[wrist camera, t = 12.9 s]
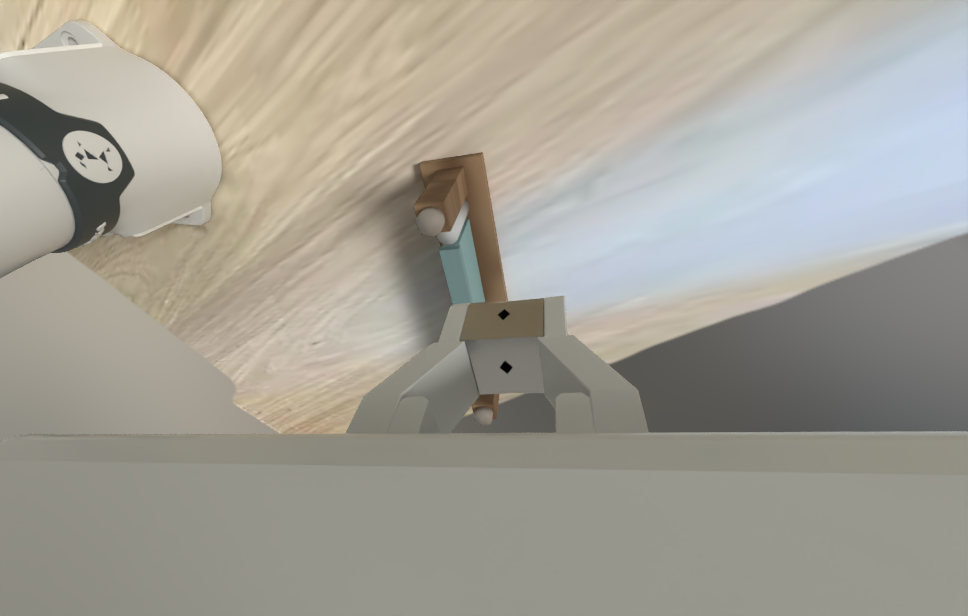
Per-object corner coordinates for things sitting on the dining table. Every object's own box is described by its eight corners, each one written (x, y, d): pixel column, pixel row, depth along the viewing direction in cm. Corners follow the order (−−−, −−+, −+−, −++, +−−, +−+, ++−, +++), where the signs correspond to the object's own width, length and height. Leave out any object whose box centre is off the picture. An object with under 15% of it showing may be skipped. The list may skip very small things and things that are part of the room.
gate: (447, 199, 38) (431, 227, 33) (467, 196, 37) (454, 225, 32) (480, 346, 49) (472, 385, 43) (495, 345, 48) (490, 385, 43)
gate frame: (474, 364, 53) (460, 432, 44) (421, 161, 37) (384, 204, 28) (518, 362, 51) (513, 432, 43) (482, 152, 36) (462, 194, 27)
